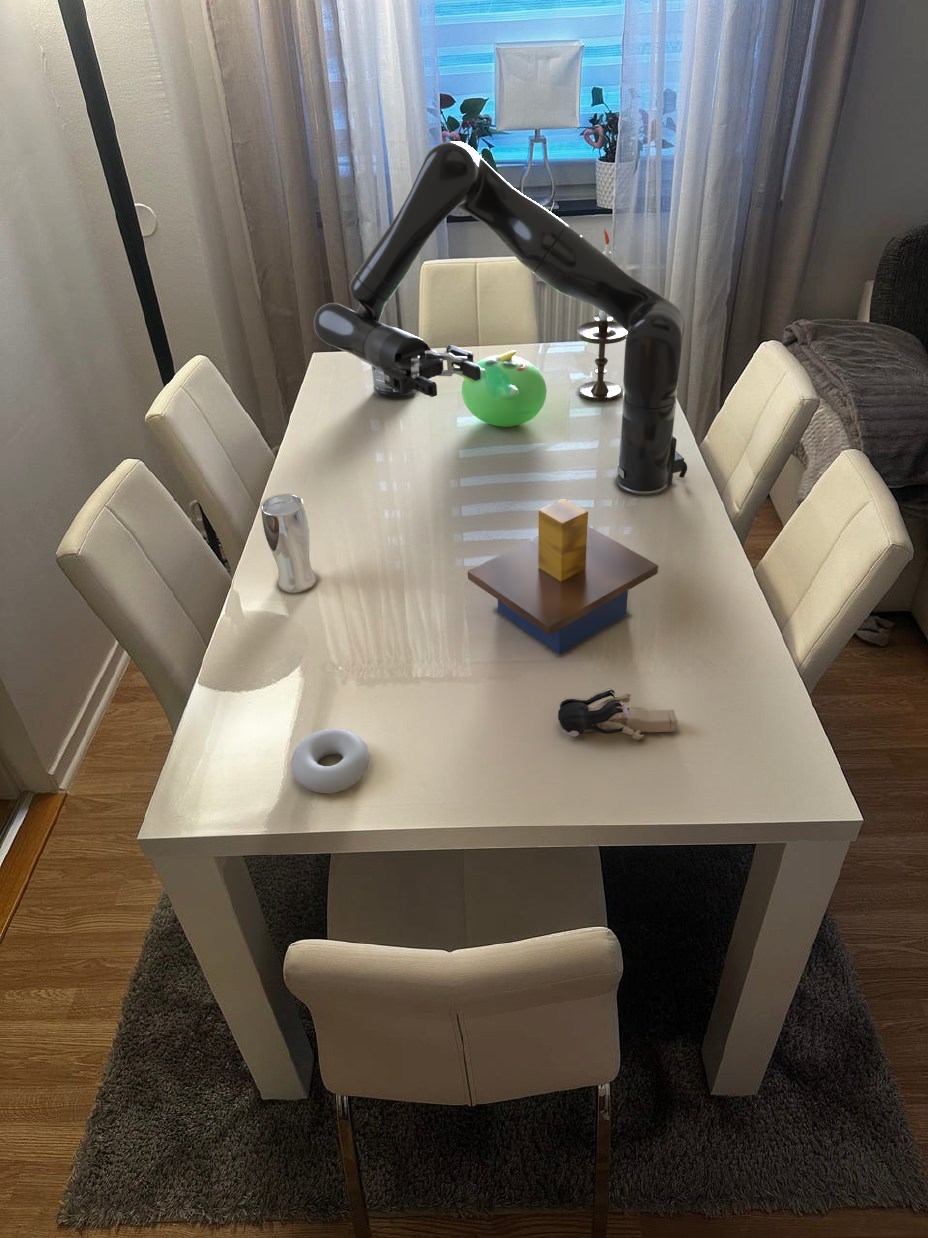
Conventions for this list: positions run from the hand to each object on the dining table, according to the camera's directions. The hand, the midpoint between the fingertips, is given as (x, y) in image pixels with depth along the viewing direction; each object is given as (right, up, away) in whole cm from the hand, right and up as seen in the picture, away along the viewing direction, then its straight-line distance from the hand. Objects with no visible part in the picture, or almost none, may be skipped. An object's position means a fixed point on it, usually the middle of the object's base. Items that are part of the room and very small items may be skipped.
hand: (457, 382), depth 137 cm
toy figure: (+21, -51, -18) cm, 58 cm away
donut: (-16, -56, -22) cm, 62 cm away
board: (+16, -30, -3) cm, 34 cm away
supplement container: (-15, +16, +70) cm, 73 cm away
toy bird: (+9, +6, +54) cm, 56 cm away
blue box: (+16, -35, +1) cm, 39 cm away
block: (+16, -29, -4) cm, 33 cm away
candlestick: (+32, +14, +64) cm, 73 cm away
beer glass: (-27, -30, +11) cm, 42 cm away
